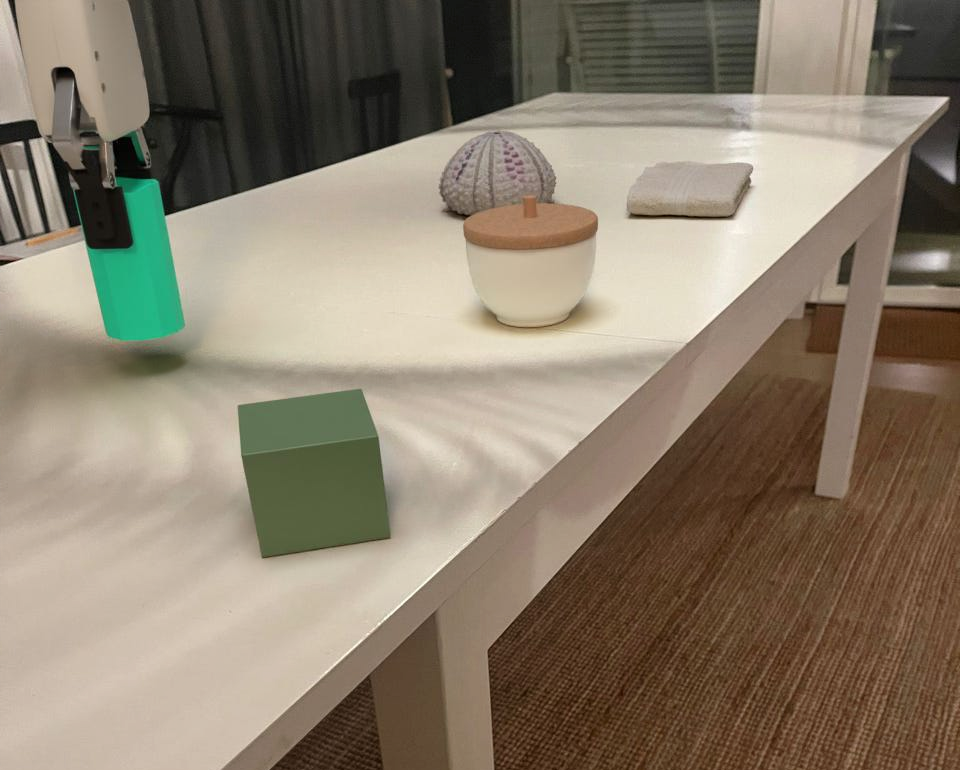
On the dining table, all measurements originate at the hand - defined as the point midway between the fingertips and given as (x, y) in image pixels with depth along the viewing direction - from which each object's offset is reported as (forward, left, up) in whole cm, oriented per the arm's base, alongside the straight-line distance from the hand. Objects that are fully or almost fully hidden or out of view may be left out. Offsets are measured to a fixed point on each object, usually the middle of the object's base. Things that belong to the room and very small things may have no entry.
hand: (125, 234), depth 76 cm
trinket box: (+30, +8, -10) cm, 32 cm away
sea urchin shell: (+26, +48, -10) cm, 56 cm away
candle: (0, 0, -7) cm, 7 cm away
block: (+18, -27, -10) cm, 34 cm away
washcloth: (+48, +47, -10) cm, 68 cm away
